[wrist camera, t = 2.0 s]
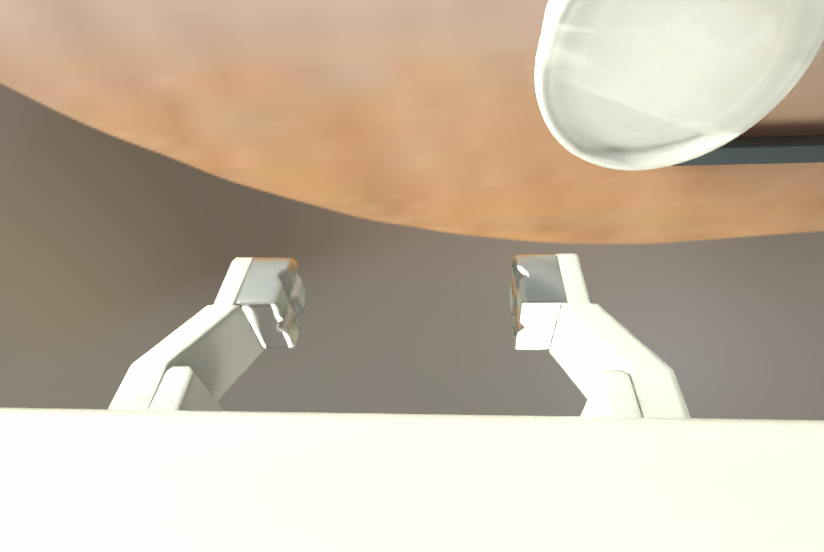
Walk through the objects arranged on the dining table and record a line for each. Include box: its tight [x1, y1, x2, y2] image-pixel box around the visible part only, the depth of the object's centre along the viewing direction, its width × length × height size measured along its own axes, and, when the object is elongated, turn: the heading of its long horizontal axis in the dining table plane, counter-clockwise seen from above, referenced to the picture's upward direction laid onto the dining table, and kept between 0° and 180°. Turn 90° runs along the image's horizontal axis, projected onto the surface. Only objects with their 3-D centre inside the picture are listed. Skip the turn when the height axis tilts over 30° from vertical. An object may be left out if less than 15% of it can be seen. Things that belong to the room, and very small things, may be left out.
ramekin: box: [535, 0, 824, 171], centre depth 21 cm, size 11×11×5 cm
